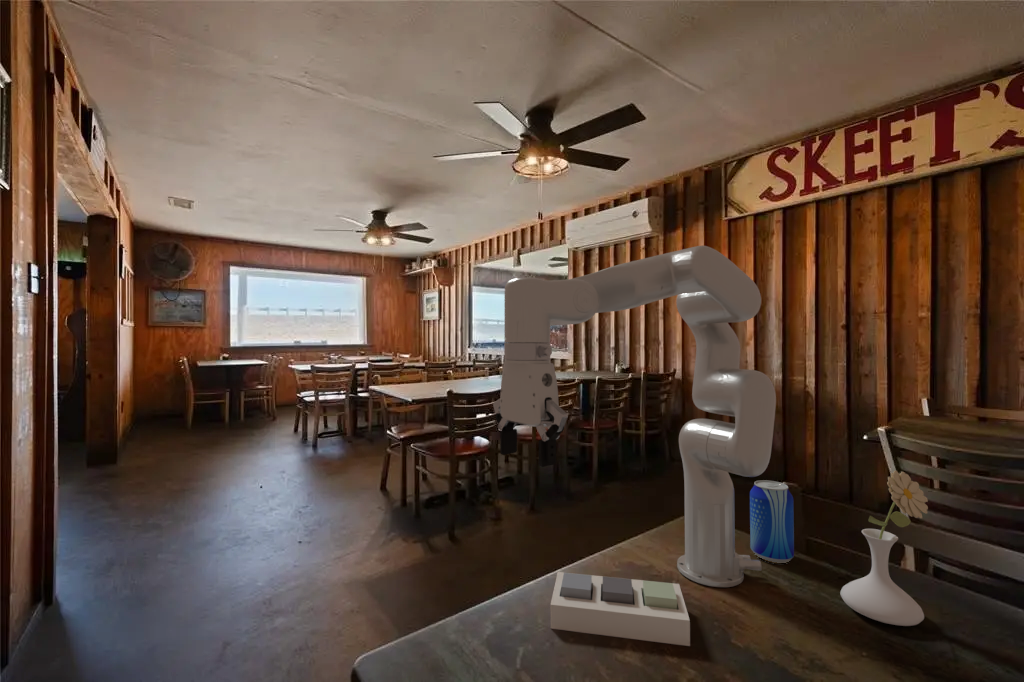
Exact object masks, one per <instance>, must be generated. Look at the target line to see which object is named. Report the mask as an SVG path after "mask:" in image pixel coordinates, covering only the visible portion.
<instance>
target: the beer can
mask: <svg viewBox="0 0 1024 682" xmlns="http://www.w3.org/2000/svg"><path fill="white" fill-rule="evenodd" d="M779 484H781V485H779ZM794 508H795V507H794V497H793V495H792V493H791V492H790V490H789V486H788V485H787V484H786V483H783V482H779V481H774V480H767V479H766V480H764V479H763V480H756V481H754V484H753V486H752V487H751V489H750V491H749V526H750V527H749V529H750V530H749V531H750V534H749V535H750V536H749V537H750V538H749V539H750V541H749V542H750V543H749V547H750V550H751V551H752V552H753V553H755V554H754V556H755V555H757V556H758V557H760V558H762V559H765V560H768V561H772V562H777V563H786V562H789V561H791V560H792V559H793V558H794V557H795V533H794V532H795V527H794V525H795V523H794V520H795V519H794V518H795V517H794V515H795V514H794ZM758 557H757V558H758ZM789 563H790V562H789ZM786 564H787V563H786Z"/></svg>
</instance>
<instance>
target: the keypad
mask: <svg viewBox="0 0 1024 682" xmlns="http://www.w3.org/2000/svg"><path fill="white" fill-rule="evenodd" d="M564 573H565V572H563V571H557V574H556V577H555V578H556V579H555V584H554V588H553V592H552V595H551V601H550V629H553V630H558V631H559V630H561V631H568V632H576V633H583V634H591V635H600V636H607V637H615V638H623V639H631V640H639V641H646V642H655V643H661V644H669V645H670V644H671V645H677V646H686V647H691V622H690V621H691V620H690V617H689V613H688V610H687V606H686V602H685V600H684V596H683V593H682V590H681V586H680V583H673V582H672V583H673V587H674V590H675V594H676V598H677V609H668V608H659V607H650V606H644V600H643V581H645V580H643V579H635V578H634V579H631V578H630V579H631V581H632V591H633V605H632V604H623V603H614V602H605V601H603V598H602V589H603V577H605V576H602V575H593V574H592V595H591V600H587V599H578V598H569V597H561V586H562V581H563V575H564ZM573 574H575V573H573ZM582 574H583V573H582ZM583 575H585V574H583ZM612 577H613V576H612ZM613 578H615V577H613ZM622 578H623V577H622ZM623 579H625V578H623ZM652 581H653V580H652ZM653 582H655V581H653ZM662 582H663V581H662ZM663 583H665V582H663Z"/></svg>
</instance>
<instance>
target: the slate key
mask: <svg viewBox="0 0 1024 682" xmlns="http://www.w3.org/2000/svg"><path fill="white" fill-rule="evenodd" d="M592 575H593V574H592ZM592 575H591V574H584V575H583V573H574V574H573V573H572V572H564V575H563V581H562V586H561V597H569V598H578V599H587V600H591V595H592Z"/></svg>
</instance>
